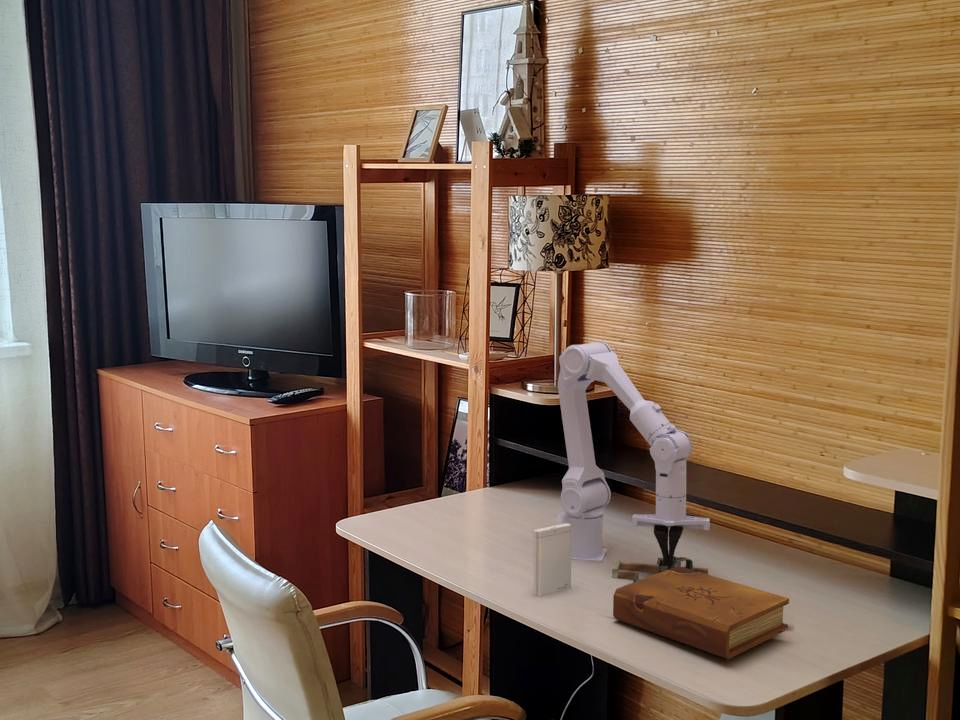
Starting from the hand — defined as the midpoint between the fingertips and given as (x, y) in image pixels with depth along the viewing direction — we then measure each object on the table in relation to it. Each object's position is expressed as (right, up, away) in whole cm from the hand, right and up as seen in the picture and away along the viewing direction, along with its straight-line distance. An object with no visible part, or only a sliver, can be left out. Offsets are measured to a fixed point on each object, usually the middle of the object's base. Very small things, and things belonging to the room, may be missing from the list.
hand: (670, 564), depth 203 cm
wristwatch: (+2, -4, +1) cm, 5 cm away
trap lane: (-2, -3, +2) cm, 4 cm away
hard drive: (-23, -4, -6) cm, 24 cm away
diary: (+1, -7, -21) cm, 22 cm away
